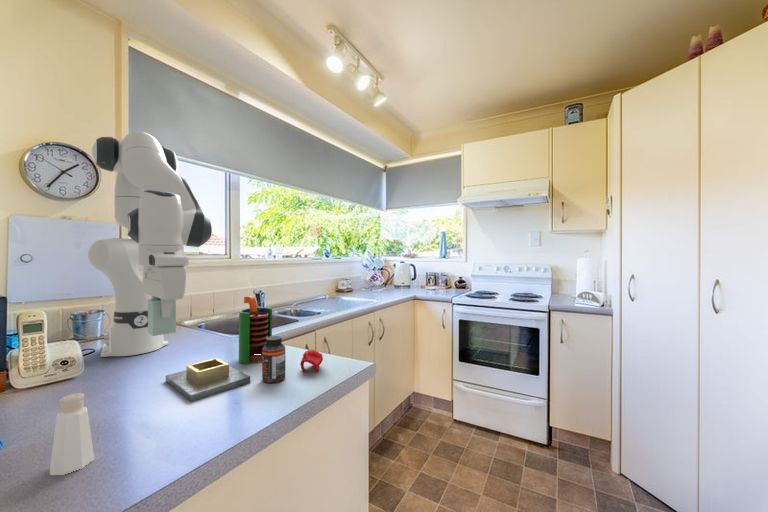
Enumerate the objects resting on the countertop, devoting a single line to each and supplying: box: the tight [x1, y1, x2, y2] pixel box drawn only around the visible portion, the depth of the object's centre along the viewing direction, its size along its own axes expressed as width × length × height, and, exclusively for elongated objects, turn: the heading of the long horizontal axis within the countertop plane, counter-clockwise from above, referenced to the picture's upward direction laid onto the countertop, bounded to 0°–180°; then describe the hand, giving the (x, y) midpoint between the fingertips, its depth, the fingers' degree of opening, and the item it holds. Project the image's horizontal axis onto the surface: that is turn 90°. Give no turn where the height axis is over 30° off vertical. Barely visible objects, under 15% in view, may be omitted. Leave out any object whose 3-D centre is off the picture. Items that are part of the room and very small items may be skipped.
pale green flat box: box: [148, 298, 177, 336], centre depth 75 cm, size 4×4×10 cm
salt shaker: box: [49, 392, 95, 476], centre depth 50 cm, size 5×5×11 cm
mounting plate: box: [165, 357, 251, 403], centre depth 82 cm, size 18×14×4 cm
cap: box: [299, 349, 324, 373], centre depth 91 cm, size 8×6×6 cm
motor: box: [238, 295, 273, 365], centre depth 100 cm, size 10×9×20 cm
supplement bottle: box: [261, 335, 286, 384], centre depth 84 cm, size 6×6×11 cm
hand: (161, 315), depth 75 cm, fingers closed on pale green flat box, 4 cm apart
